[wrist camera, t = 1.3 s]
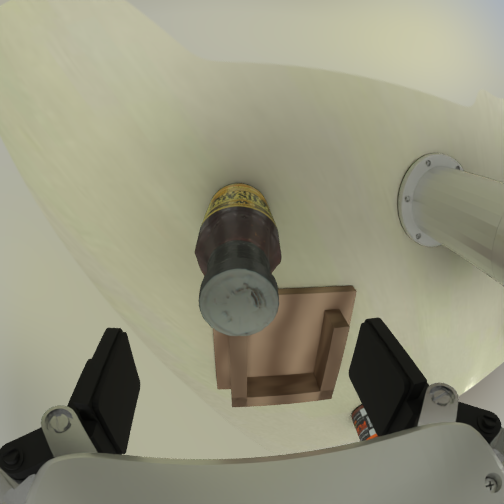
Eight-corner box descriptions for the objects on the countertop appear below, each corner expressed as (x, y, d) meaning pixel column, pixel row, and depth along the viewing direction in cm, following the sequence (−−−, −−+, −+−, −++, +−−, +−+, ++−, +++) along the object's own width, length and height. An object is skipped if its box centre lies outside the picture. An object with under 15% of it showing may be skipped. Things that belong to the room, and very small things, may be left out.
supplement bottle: (353, 404, 48) (373, 452, 37) (381, 397, 48) (404, 441, 38) (348, 422, 50) (365, 467, 40) (375, 415, 50) (395, 457, 40)
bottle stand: (352, 285, 38) (368, 307, 33) (333, 374, 44) (343, 398, 39) (211, 290, 37) (209, 315, 31) (217, 382, 42) (217, 409, 37)
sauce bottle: (269, 184, 32) (326, 251, 14) (262, 238, 35) (301, 355, 16) (208, 178, 32) (184, 239, 13) (204, 233, 34) (182, 350, 15)
